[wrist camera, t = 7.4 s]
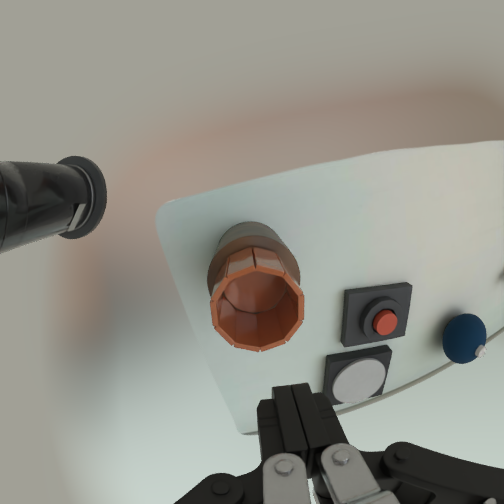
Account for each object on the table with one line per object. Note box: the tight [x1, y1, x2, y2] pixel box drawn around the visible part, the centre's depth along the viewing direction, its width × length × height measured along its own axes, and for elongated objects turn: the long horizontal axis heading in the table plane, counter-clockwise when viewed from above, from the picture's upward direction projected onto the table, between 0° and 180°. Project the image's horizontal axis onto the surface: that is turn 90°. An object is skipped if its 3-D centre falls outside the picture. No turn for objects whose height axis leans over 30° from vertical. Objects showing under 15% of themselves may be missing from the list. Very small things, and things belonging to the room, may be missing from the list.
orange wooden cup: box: [210, 247, 304, 352], centre depth 21 cm, size 6×6×6 cm
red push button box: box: [341, 282, 412, 347], centre depth 34 cm, size 10×8×3 cm
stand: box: [207, 222, 300, 314], centre depth 29 cm, size 8×8×10 cm
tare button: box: [373, 310, 397, 335], centre depth 33 cm, size 3×3×1 cm
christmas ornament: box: [442, 314, 486, 364], centre depth 33 cm, size 8×8×10 cm
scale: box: [323, 345, 392, 405], centre depth 37 cm, size 10×9×3 cm
